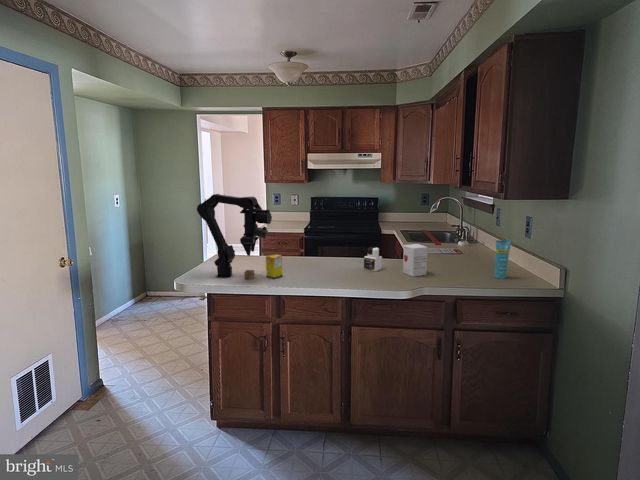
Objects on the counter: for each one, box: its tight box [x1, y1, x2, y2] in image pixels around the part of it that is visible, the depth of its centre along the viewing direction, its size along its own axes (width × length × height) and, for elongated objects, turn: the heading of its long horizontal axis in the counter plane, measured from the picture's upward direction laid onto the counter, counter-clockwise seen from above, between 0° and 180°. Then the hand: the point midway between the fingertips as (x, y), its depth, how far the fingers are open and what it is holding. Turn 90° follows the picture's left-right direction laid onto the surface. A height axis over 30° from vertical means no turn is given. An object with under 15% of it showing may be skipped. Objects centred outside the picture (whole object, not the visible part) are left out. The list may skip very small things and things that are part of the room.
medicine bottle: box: [363, 246, 383, 272], centre depth 222 cm, size 7×7×12 cm
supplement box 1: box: [265, 253, 283, 279], centre depth 209 cm, size 6×6×11 cm
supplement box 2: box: [402, 243, 429, 278], centre depth 213 cm, size 9×9×15 cm
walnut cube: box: [243, 269, 255, 281], centre depth 206 cm, size 4×4×4 cm
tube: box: [494, 239, 512, 280], centre depth 205 cm, size 7×5×19 cm, turn 92°
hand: (250, 253), depth 204 cm, fingers open, 9 cm apart
